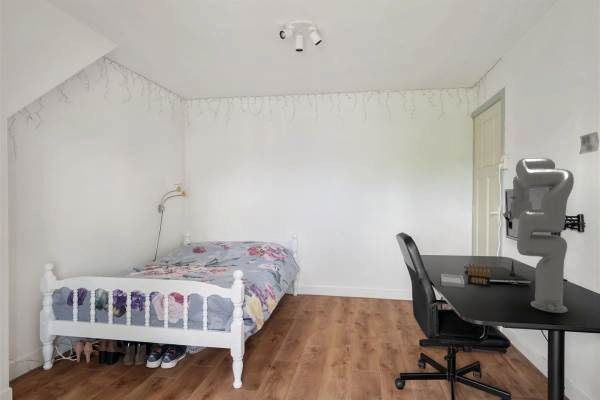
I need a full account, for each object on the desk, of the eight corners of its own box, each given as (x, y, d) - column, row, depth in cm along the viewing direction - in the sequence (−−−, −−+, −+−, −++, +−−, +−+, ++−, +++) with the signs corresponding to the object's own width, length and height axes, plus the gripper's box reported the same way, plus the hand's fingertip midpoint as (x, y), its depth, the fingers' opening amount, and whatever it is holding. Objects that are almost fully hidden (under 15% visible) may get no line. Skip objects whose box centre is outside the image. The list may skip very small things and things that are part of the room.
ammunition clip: (467, 284, 178) (467, 262, 178) (467, 283, 180) (468, 261, 180) (490, 286, 173) (490, 264, 173) (490, 286, 175) (490, 263, 174)
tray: (464, 288, 170) (464, 283, 170) (441, 285, 175) (441, 281, 175) (462, 279, 187) (462, 275, 187) (441, 277, 191) (441, 273, 191)
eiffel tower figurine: (498, 283, 182) (498, 259, 182) (495, 278, 191) (495, 256, 191) (530, 286, 176) (531, 261, 176) (525, 281, 186) (526, 258, 185)
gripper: (505, 198, 179) (505, 229, 180) (542, 198, 175) (541, 230, 175) (501, 198, 187) (500, 227, 187) (536, 198, 182) (535, 228, 183)
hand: (520, 229), depth 181 cm, fingers open, 9 cm apart
